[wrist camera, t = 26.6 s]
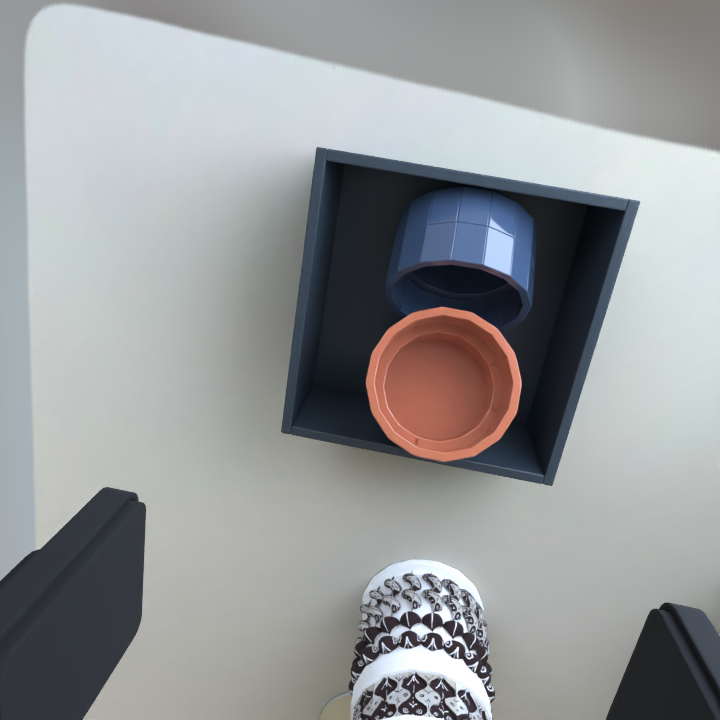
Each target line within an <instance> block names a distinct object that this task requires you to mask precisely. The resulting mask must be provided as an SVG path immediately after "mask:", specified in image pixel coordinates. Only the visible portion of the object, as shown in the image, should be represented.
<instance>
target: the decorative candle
mask: <svg viewBox="0 0 720 720" xmlns="http://www.w3.org/2000/svg"><path fill="white" fill-rule="evenodd" d="M360 611H361V612H362V617H363V620H360V621H359V623H358V625H357V628H358V630H360V631H363V632H364V636H363V637H359V638H357V639H356V641H355V645H356V646H355V649H354V653H355V655H356V656H357V657H356V658H355V659H354V661H353V664H352V668H351V675H352V677H353V678H352V679H351V681H350V683H349V691H350V694H351V695H352V702H351V720H492V714H491V713H492V708H491V705H490V703H491V702H492V701H493V700H494V697H495V691H494V688H493V686H491V685H490V684H489V683H490V681H491V675H492V669H491V666H490V665H489V664H488V663H487V659H488V655H489V651H490V645H489V641H488V639H487V638H486V634H487V624H486V622H485V620H484V619H483V611H484V607H483V604H482V601H481V599H480V596H479V594H478V591H477V589H476V587H475V586H474V585H473V584H472V583H471V582H470V581H469V580H468V579H467V578H466V577H465V576H464V575H463V574H462V573H461V572H460V571H458V570H456V569H454V568H452V567H449V566H447V565H445V564H443V563H440V562H438V561H429V560H417V559H411V560H407V561H403V562H399V563H396V564H392V565H389V566H388V567H386V568H385V569H384V570H382V571H381V572H380V573H378V574H377V575H375V576H374V577H373V578H372V580H371V581H370V583H369V585H368V587H367V589H366V590H365V592H364V594H363V605H362V606H361V607H360Z"/></svg>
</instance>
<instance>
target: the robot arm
mask: <svg viewBox="0 0 720 720" xmlns="http://www.w3.org/2000/svg"><path fill="white" fill-rule="evenodd" d="M145 520H146V506H145V504H144V503H142V502H138V496H137V494H136V493H133V492H128V491H123V490H119V489H114V488H109V487H106V488H103V489H102V490H100V491H99V492H98V493H97V494H96V495H95V496H94V497H93V498H92V499H91V500H90V501H89V502H88V503H87V504H86V505H85V506H84V507H83V508H82V509H81V510H80V511H79V512H78V513H77V514H76V515H75V516H74V517H73V518H72V519H71V520H70V521H69V522H68V523H67V524H66V525H65V526H64V527H63V528H62V529H61V530H60V531H59V532H58V533H57V534H56V535H55V536H54V537H53V538H51V539H50V540H49V541H48V542H47V543H46V544H45V545H44V546H43V547H42V548H41V549H39V550H36V551H33V552H31V553H30V554H29V555H27V556H26V557H25V558H24V559H23V560H22V561H21V562H20V563H19V564H18V565H17V566H16V567H14V569H12V570H11V571H10V572H9V573H8V574H7V575H6V576H5V577H4V578H3V579H2V580H1V581H0V720H83V718H84V716H85V715H86V713H87V712H88V710H89V709H90V707H91V705H92V704H93V702H94V701H95V699H96V697H97V696H98V694H99V693H100V691H101V689H102V688H103V686H104V685H105V683H106V681H107V680H108V678H109V677H110V675H111V674H112V672H113V670H114V669H115V667H116V666H117V664H118V662H119V661H120V659H121V658H122V656H123V654H124V653H125V651H126V650H127V648H128V646H129V645H130V643H131V642H132V640H133V638H134V637H135V635H136V633H137V631H138V628H139V625H140V622H141V616H142V596H143V571H144V546H145ZM606 720H720V637H719V635H718V634H717V632H716V630H715V629H714V627H713V625H712V624H711V622H710V621H709V619H708V617H707V616H706V615H705V613H704V612H703V611H701V610H700V609H696V608H691V607H687V606H682V605H677V604H672V603H664V604H663V605H661V607H660V608H659V609H653V610H651V611H650V613H649V615H648V617H647V620H646V622H645V624H644V627H643V629H642V632H641V634H640V637H639V639H638V642H637V644H636V646H635V649H634V651H633V654H632V656H631V659H630V661H629V664H628V666H627V668H626V671H625V673H624V676H623V678H622V681H621V683H620V686H619V688H618V690H617V693H616V695H615V698H614V700H613V703H612V705H611V707H610V710H609V712H608V715H607V718H606Z"/></svg>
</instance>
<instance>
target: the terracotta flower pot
mask: <svg viewBox="0 0 720 720" xmlns="http://www.w3.org/2000/svg"><path fill="white" fill-rule="evenodd" d="M521 387H522V380H521V376H520V372H519V367H518V363H517V359H516V355H515V352H514V351H513V350H512V348H511V347H510V345H509V344H508V342H507V341H506V340H505V338H504V337H503V335H502V334H501V333H500V331H499V330H498V329H497V328H496V327H494V326H493V325H491V324H490V323H488V322H487V321H485V320H484V319H482V318H480V317H479V316H477V315H476V314H474V313H472V312H469V311H464V310H458V309H453V308H448V307H437V308H432V309H427V310H422V311H417V312H413V313H411V314H410V315H408V316H407V317H405V318H403V319H402V320H400V321H399V322H397V323H396V324H394V325H393V326H391V327H390V328H389V329H388V330H387V331H386V332H385V334H384V335H383V337H382V338H381V340H380V341H379V343H378V344H377V346H376V347H375V349H374V350H373V352H372V354H371V357H370V362H369V367H368V372H367V377H366V389H367V394H368V399H369V404H370V409H371V413H372V415H373V418H374V419H375V421H376V422H377V424H378V425H379V427H380V428H381V430H382V431H383V433H384V434H385V436H386V437H387V438H388V439H389V440H391V441H392V442H394V443H395V444H397V445H398V446H400V447H401V448H403V449H404V450H406V451H407V452H409V453H410V454H412V455H414V456H417V457H422V458H426V459H431V460H436V461H441V462H448V461H453V460H458V459H464V458H469V457H474V456H476V455H478V454H479V453H481V452H482V451H483V450H485V449H486V448H488V447H489V446H491V445H492V444H494V443H495V442H497V441H498V440H500V438H501V437H502V436H503V434H504V433H505V431H506V430H507V428H508V427H509V425H510V423H511V422H512V420H513V419H514V417H515V416H516V414H517V411H518V405H519V399H520V393H521Z"/></svg>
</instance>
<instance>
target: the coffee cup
mask: <svg viewBox="0 0 720 720" xmlns="http://www.w3.org/2000/svg"><path fill="white" fill-rule="evenodd" d="M351 702H352V695H351V694H350V692H348V693H344V694H342V695H339V696H337V697H335V698H334V699H332V700H331V701H330V702H329V703H327V704H326V706H325V707H324V709H323V710H322V712H321V714H320V716H319V719H318V720H351Z"/></svg>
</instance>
